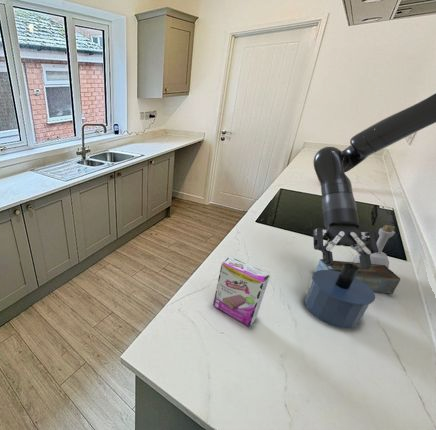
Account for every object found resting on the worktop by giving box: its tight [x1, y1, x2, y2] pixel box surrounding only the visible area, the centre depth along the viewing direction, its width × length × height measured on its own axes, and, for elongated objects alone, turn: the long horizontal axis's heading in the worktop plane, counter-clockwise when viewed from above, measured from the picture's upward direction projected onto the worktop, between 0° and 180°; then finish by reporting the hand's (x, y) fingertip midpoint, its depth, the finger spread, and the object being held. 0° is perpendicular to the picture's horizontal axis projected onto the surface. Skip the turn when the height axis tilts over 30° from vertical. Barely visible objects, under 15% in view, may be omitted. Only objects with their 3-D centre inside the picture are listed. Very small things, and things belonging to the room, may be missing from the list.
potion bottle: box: [353, 224, 396, 269], centre depth 89 cm, size 9×9×18 cm
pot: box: [304, 280, 370, 329], centre depth 75 cm, size 13×13×9 cm
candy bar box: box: [212, 256, 271, 328], centre depth 73 cm, size 11×5×16 cm, turn 43°
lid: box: [311, 263, 376, 306], centre depth 71 cm, size 14×14×8 cm
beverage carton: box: [315, 258, 401, 295], centre depth 85 cm, size 8×19×7 cm, turn 77°
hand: (347, 267), depth 71 cm, fingers open, 8 cm apart
